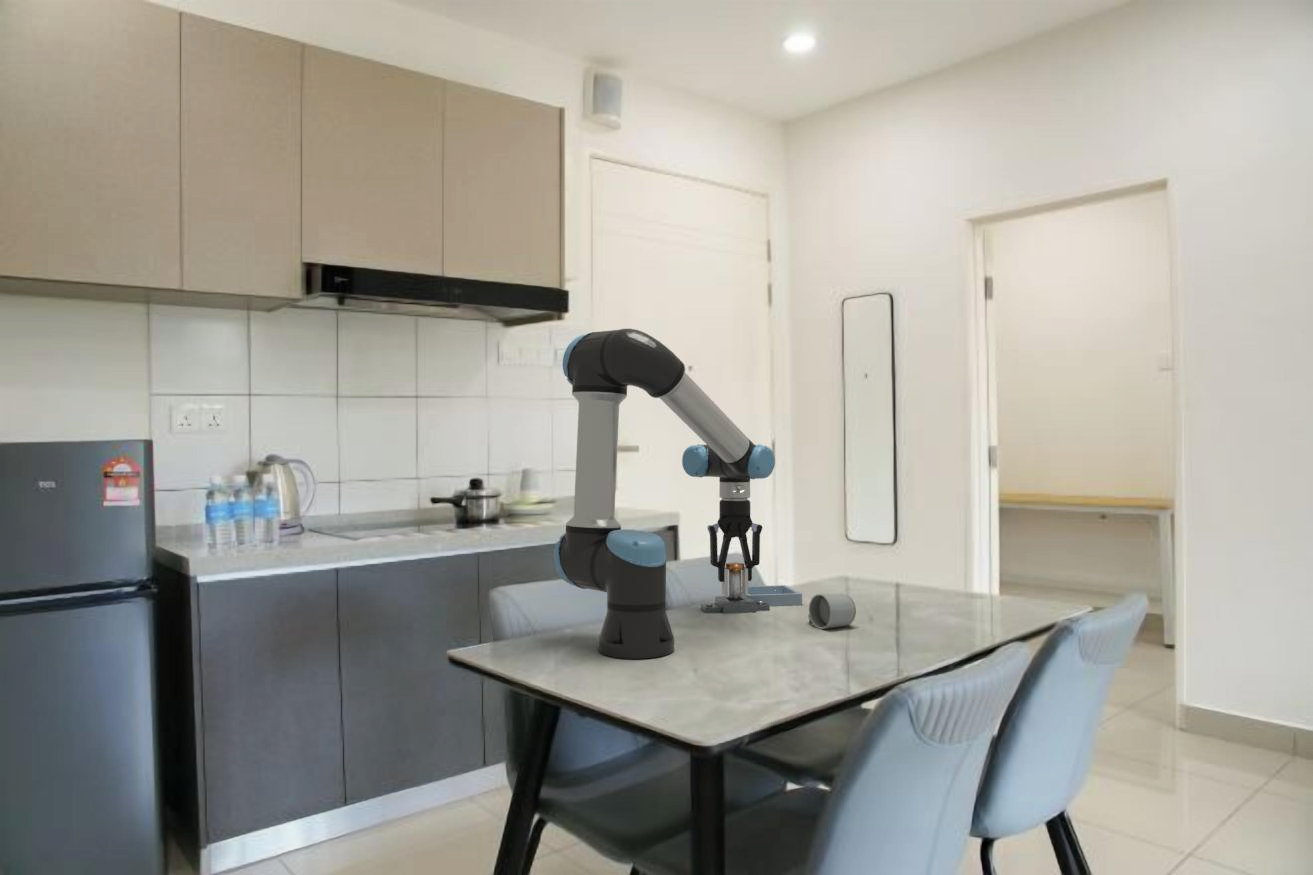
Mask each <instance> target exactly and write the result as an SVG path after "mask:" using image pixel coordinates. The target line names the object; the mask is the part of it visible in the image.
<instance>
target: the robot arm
mask: <svg viewBox="0 0 1313 875" xmlns="http://www.w3.org/2000/svg"><path fill="white" fill-rule="evenodd" d="M562 370H563V374H564V377H566V378H567V379H566V381H568V382H567V383H569V384H570V385H572V386H571V387H572V388H571V389H572V390H571V391H572V392H571V394H572V396H573V397H574V398H575V400H576V401H577V403H578V413H577V414H578V415H577V416H578V417H577V418H578V419H577V436H576V457H575V459H576V460H575V481H574V498H573V499H574V501H573V504H574V505H573V515H572V517H571V518H570V519H569V520H568V521H567V522H566V523H565V533H563V534H562V535H561V536H560V537H559V540H558V541H556V542H555V546H554V548H553V563H554V567H555V569H556V571H557V574H558V575H559V576H560V578H561V579H562V580H563V581H564V582H566V583H567V584H569V585H572V586H575V587H577V588H579V589H583V590H592V591H593V590H594V591H597V592H598V591H599V592H604V593H606V597H607V598H606V601H607V602H606V603H607V604H606V605H607V606H606V608H607V609H606V615H605V617H604V621H603V624H602V627H601V631H600V633H599V637H598V652H599V653H600V654H602V655H605V656H607V657H613V658H619V659H634V660H635V659H636V660H637V659H652V658H659V657H664V656H667V655H670V654H671V653H673V652H674V651H675V637H674V633H673V630H672V627H671V624H670V620H669V618H668V615H667V611H666V587H667V586H666V585H667V583H666V582H667V581H666V580H667V579H666V578H667V554H666V544H665V543H666V542H665V541H664V539H663V538H662V537H661V536H660V535H658V534H656V533H654V532H653V533H652V532H649V531H644V530H636V529H622V525H621V523H619V521H618V520H617V519H616V518H615V509H616V508H615V507H616V506H615V505H616V490H617V489H616V488H617V487H616V486H617V467H618V466H617V464H618V463H617V462H618V443H619V442H618V441H619V438H618V437H619V418H620V405H621V403H622V402H623V401H624V400H625V399H626V398H627V397H628V386H633V387H636V388H639V389H642V390H643V391H645V392H646V394H647V395H649V396H650V397H652V398H654V399H660V400H661V401H662V402H663V403H664V404H665V405H666V406H667V407H668V409H670V410H671V411H672V412H673V414H675V415H676V416H678V418H679V419H680V420H681V421H682V422H683V423H684V424H686V426H688V428H689V429H690V430H692V432H693V433H695V434H696V435H697V437H699V438H700V439H701V441H703V442H704V443H705V444H694V445H693V444H692V445H690V446H688V447H686V449H684V452H683V453H682V454H683V455H682V456H681V457H682V460H681V464H682V465H681V466H682V468H683V470H684V472H685V473H686V474H687V475H688V476H690V477H692V478H703V477H706V478H707V477H708V478H709V477H710V478H711V477H713V478H719V480H718V481H719V493H718V494H719V498H721V500H720V501H719V518H718V520H717V522H716V523H714V524H711V525H709V524H708V525H707V531H708V533H709V551H710V552H709V554H710V557H709V558H710V561H709V562H710V565H712V566H713V567H716V568H717V579H718V582H720V583H721V594H722V596H729V570H728V569H726V563H727V559H728V554H729V549H730V544H731V541H732V539H733V538H738V540H739V544H740V547H741V548H740V549H741V553H742V557H743V564H744V569H743V570H741V587H742V594H744V595H748V586H749V582H751V581H752V580H753V572H752V570H753V568H754V567H755V566H759V565H760V557H761V555H760V551H761V550H760V549H761V548H760V546H761V533H762V531H763V526H762V525H761V524H758V523H756V522H755V523H754V522H753V521H752V517H751V501H750V500H749V498H751V480H755V479H757V480H759V479H766V478H768V477H769V476H771V475H772V473H773V470H774V469H775V465H776V457H775V454H774V451H773V450H772V448H770V447H769V446H767V445H762V444H754V442H752V440H750V439H749V437H748V436H747V435H746V434H745V433H744V432H743V431H742V430H741V429H740V428H739V426H737V424H735V423H734V422H733V420H732V419H730V417H728V416H727V414H726V413H725V412H724V411H723V410H722V409H721V408H720V407H719V406H718V405H717V404H716V403H715V401H713V399H711V398H710V396H709V395H708V394H707V393H705V392H704V390H703V389H702V388H701V387H700V386H699V385H698V384H697V383H696V382H695V381H694V380H693V379H692V378H691V377H690V376H689V374H687V372H686V366H685V364H684V362H683V361H682V360H681V359H680V358H679V357H678V356H677V355H676V354H675V353H674V352H673V351H672V350H671V349H670V348H668V347H667V345H665V344H663V343H662V342H661V341H659V340H658V339H657V338H654V337H653V336H652V335H649V334H648V333H646V332H643V331H642V330H638V329H634V328H620V329H613V330H612V329H611V330H602V331H591V332H588V333H586V334H582V335H579V336H577V337H575V338H573V340H572V341H571V342H570V343H569V344H568V345H567V347H566V349H565V350H564V353H563V356H562ZM719 529H720V530H721V531H722V535H723V536H722V543H721V548H720V553H719V557H718V534H717V533H719ZM750 529H751V531H752V540H751V544H752V546H751V553H750V548H749V543H748V538H747V537H748V536H747V533H748V531H750Z"/></svg>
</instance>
